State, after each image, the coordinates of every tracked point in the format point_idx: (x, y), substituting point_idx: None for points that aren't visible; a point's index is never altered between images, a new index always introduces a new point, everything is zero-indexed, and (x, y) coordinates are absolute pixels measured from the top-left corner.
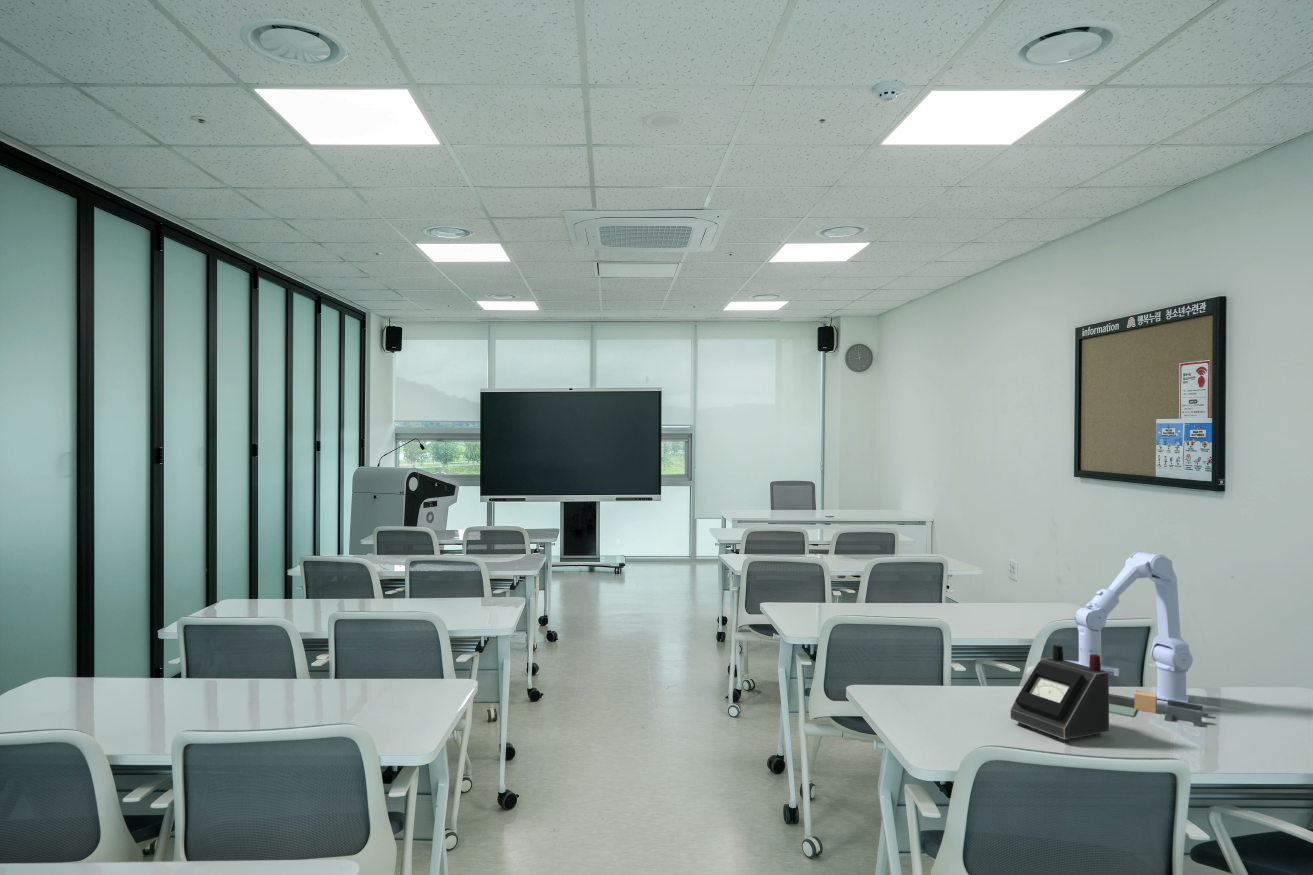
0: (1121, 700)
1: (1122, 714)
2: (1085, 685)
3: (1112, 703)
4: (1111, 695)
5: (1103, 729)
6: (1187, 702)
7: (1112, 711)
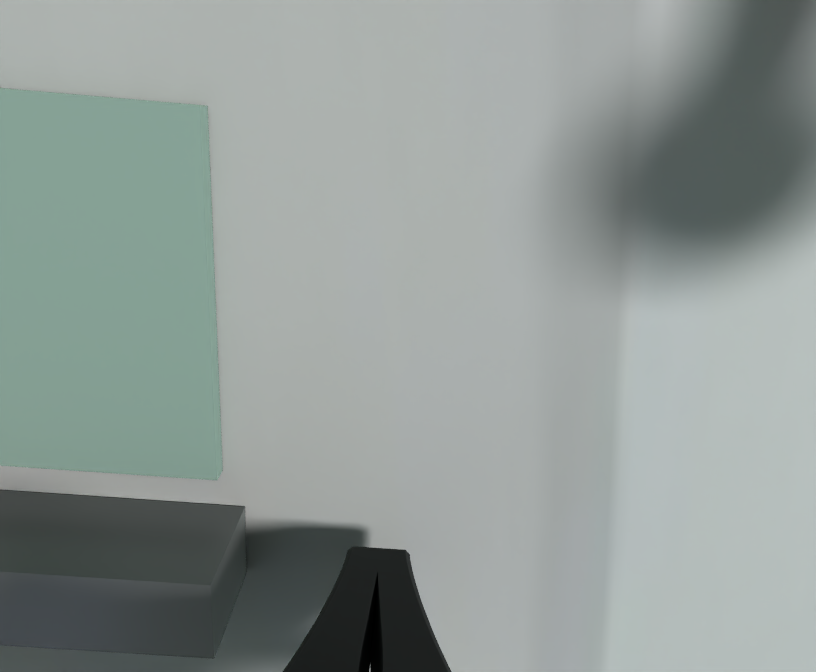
0: (2, 541)
1: None
2: None
3: (135, 508)
4: (104, 593)
5: None
6: None
7: (33, 102)
